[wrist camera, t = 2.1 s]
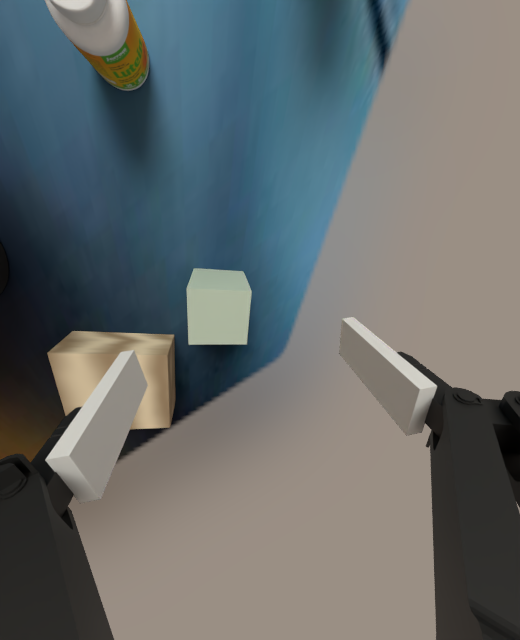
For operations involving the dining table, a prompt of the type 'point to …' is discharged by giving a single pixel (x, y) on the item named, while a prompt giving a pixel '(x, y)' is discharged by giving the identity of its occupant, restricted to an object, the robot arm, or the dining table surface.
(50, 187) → the dining table surface
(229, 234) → the dining table surface
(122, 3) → the supplement bottle
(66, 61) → the dining table surface
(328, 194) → the dining table surface
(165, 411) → the maple block
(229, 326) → the sage block
